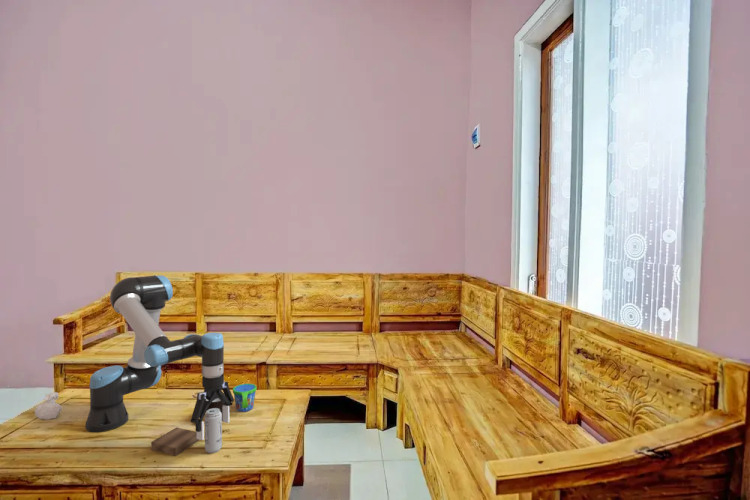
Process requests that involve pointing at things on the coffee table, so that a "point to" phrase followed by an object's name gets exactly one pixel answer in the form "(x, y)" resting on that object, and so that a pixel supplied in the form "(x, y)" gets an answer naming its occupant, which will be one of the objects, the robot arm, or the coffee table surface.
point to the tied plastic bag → (48, 407)
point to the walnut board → (175, 441)
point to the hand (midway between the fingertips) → (213, 430)
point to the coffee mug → (217, 405)
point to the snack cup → (244, 396)
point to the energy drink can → (213, 430)
